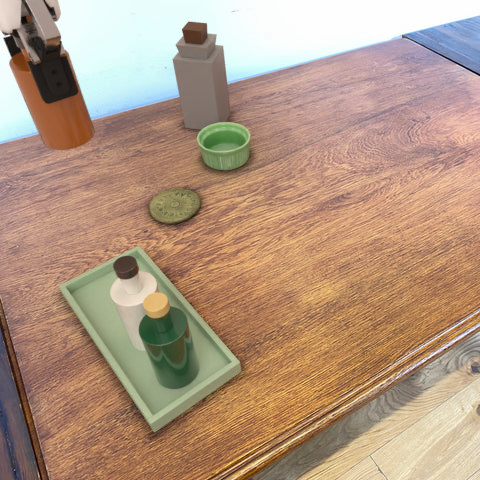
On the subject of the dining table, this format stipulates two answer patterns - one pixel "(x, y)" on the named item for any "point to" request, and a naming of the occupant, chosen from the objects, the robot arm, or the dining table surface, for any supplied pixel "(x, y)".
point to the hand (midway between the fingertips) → (48, 83)
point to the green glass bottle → (168, 342)
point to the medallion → (174, 205)
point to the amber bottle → (52, 106)
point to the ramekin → (224, 145)
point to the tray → (137, 362)
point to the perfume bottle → (201, 77)
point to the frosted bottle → (131, 296)
